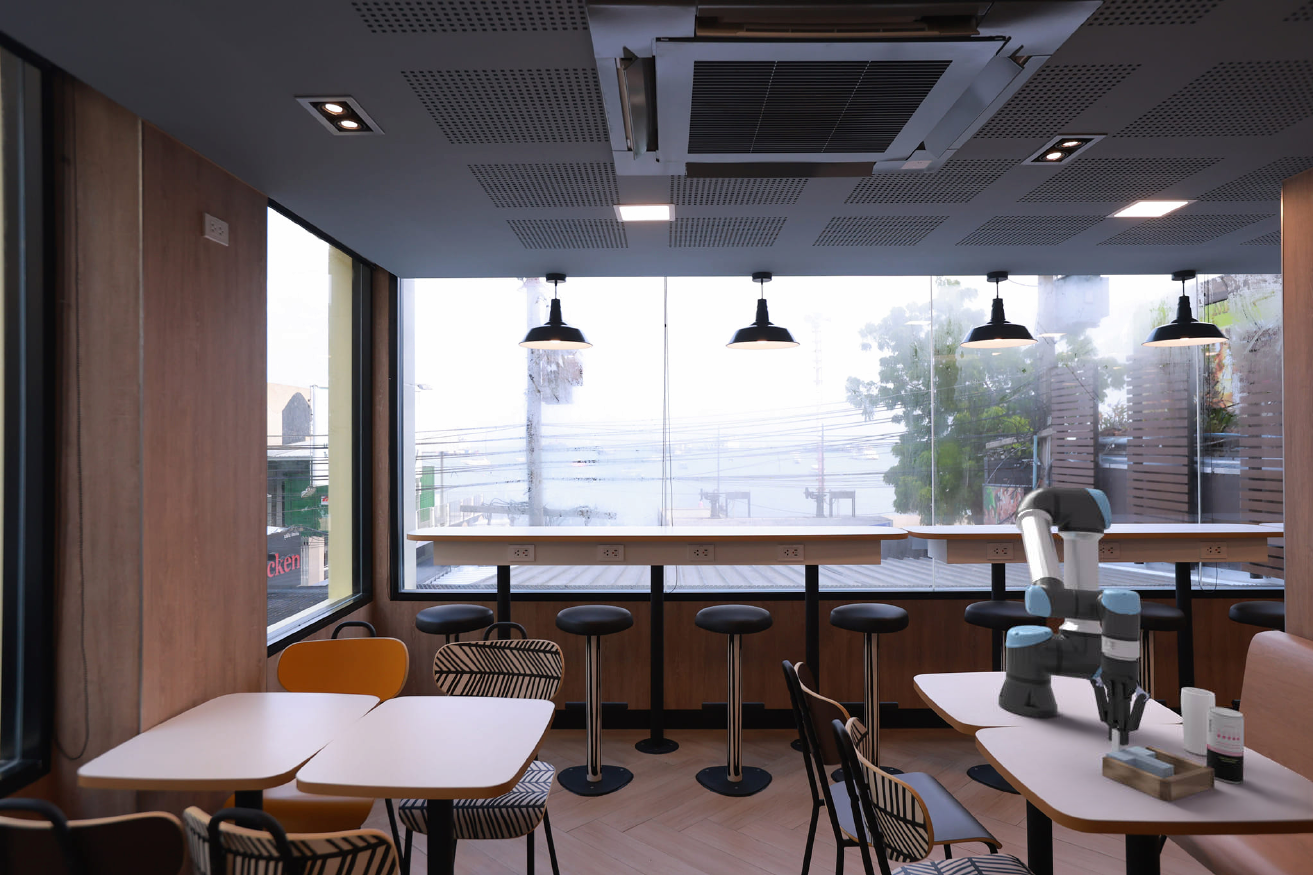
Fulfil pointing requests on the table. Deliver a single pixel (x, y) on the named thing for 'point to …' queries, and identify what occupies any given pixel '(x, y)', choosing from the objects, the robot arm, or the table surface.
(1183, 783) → the walnut corral
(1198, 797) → the table surface
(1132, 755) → the tee block
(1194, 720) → the white paper cup
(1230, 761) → the beverage can
